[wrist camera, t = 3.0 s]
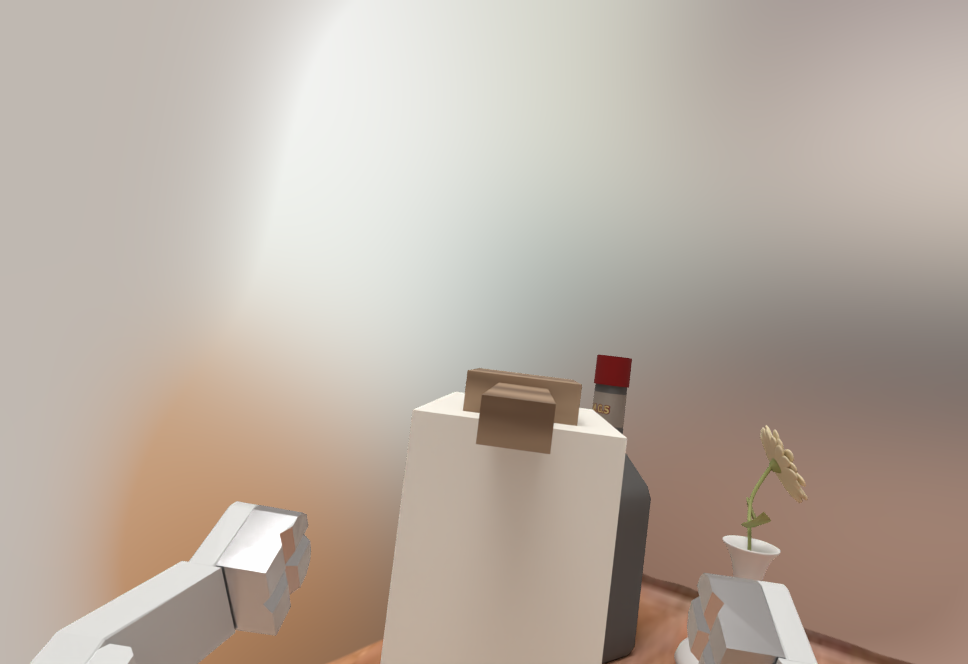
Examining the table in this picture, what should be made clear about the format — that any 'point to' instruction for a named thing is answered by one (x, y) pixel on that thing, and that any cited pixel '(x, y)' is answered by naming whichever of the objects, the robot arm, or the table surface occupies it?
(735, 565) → the flower in vase
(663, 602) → the table surface
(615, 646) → the liquor
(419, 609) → the stand
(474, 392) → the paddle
